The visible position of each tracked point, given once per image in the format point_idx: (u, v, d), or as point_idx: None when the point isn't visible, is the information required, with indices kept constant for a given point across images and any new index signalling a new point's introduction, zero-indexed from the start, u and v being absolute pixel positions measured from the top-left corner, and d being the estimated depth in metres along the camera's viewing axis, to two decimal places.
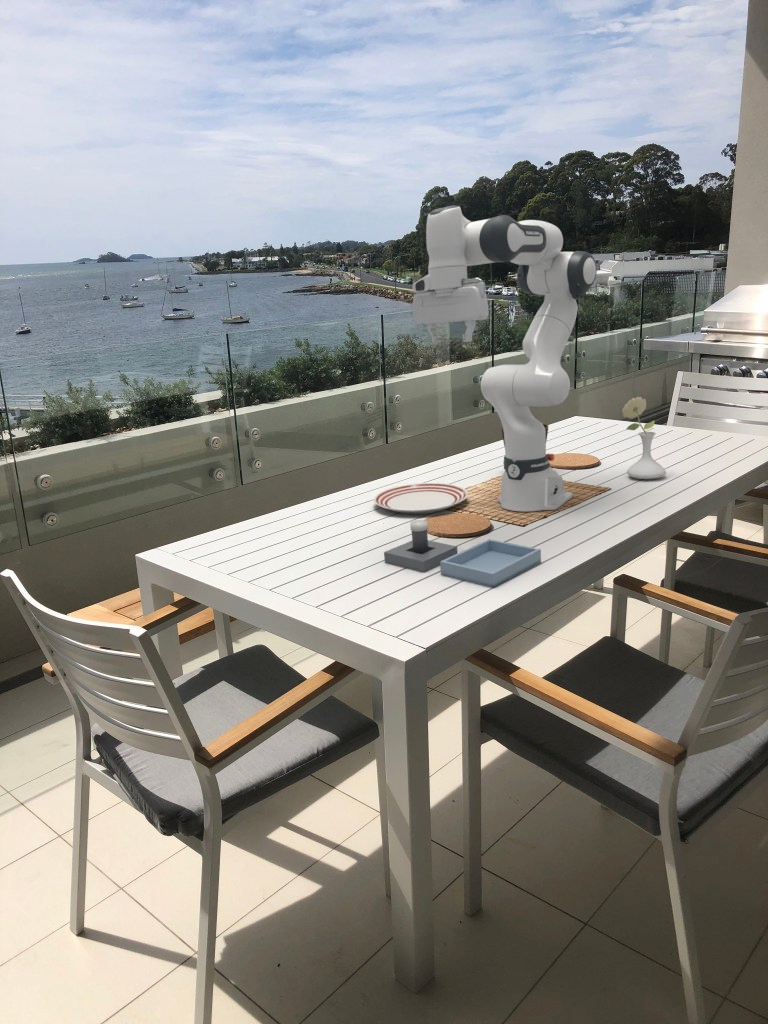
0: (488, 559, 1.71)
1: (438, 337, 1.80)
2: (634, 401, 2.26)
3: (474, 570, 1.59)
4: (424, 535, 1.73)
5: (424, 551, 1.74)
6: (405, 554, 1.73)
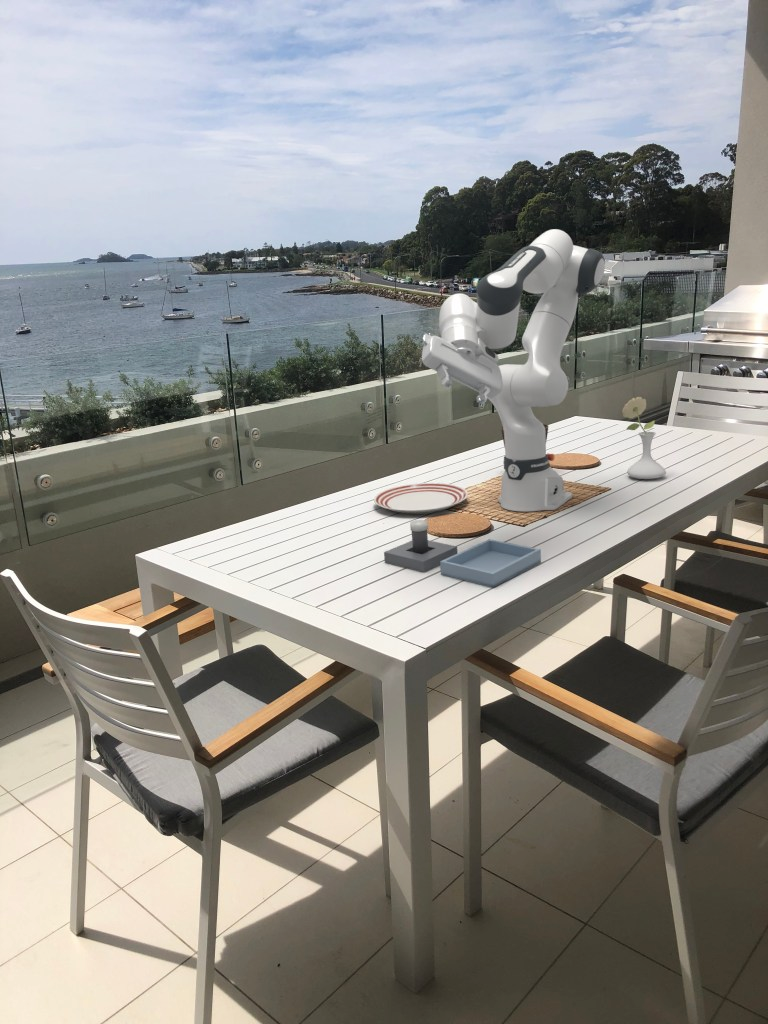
0: (488, 559, 1.71)
1: (479, 396, 1.66)
2: (634, 401, 2.26)
3: (474, 570, 1.59)
4: (424, 535, 1.73)
5: (424, 551, 1.74)
6: (405, 554, 1.73)
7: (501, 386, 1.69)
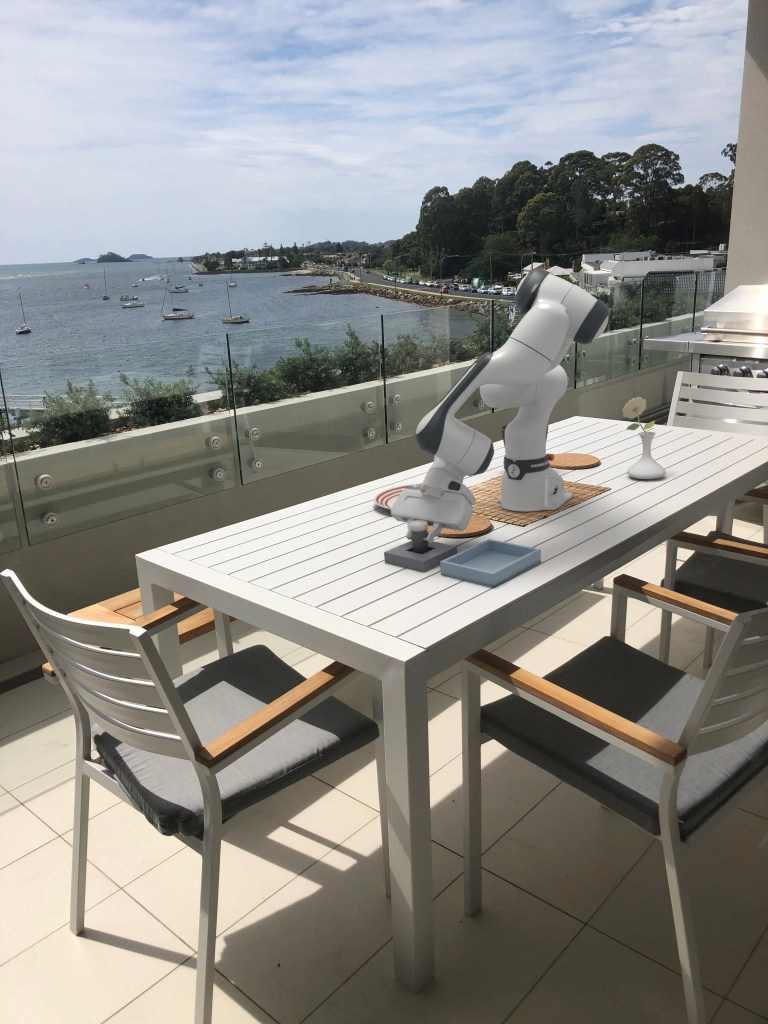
0: (488, 559, 1.71)
1: None
2: (634, 401, 2.26)
3: (474, 570, 1.59)
4: (424, 535, 1.73)
5: (424, 551, 1.74)
6: (405, 554, 1.73)
7: (458, 520, 1.69)
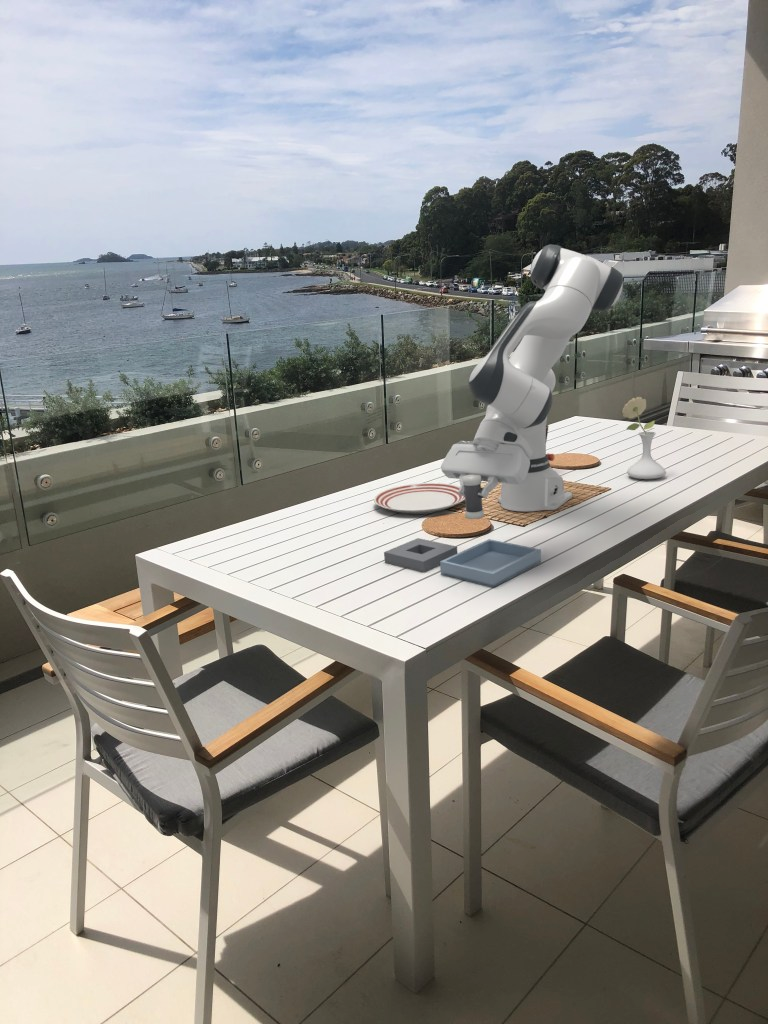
0: (488, 559, 1.71)
1: None
2: (634, 401, 2.26)
3: (474, 570, 1.59)
4: (478, 489, 1.62)
5: (478, 507, 1.63)
6: (405, 554, 1.73)
7: (515, 472, 1.58)
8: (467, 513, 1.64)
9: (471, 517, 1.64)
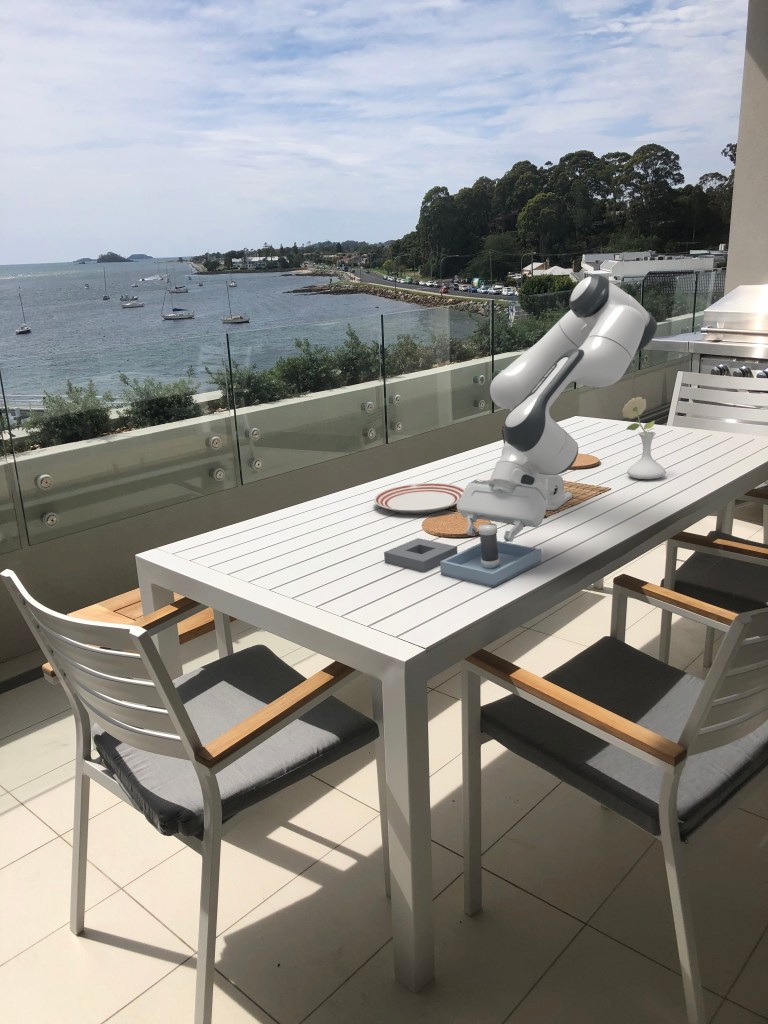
0: None
1: None
2: (634, 401, 2.26)
3: (474, 570, 1.59)
4: (494, 539, 1.64)
5: (494, 556, 1.65)
6: (405, 554, 1.73)
7: (533, 515, 1.60)
8: (483, 562, 1.66)
9: (487, 566, 1.65)
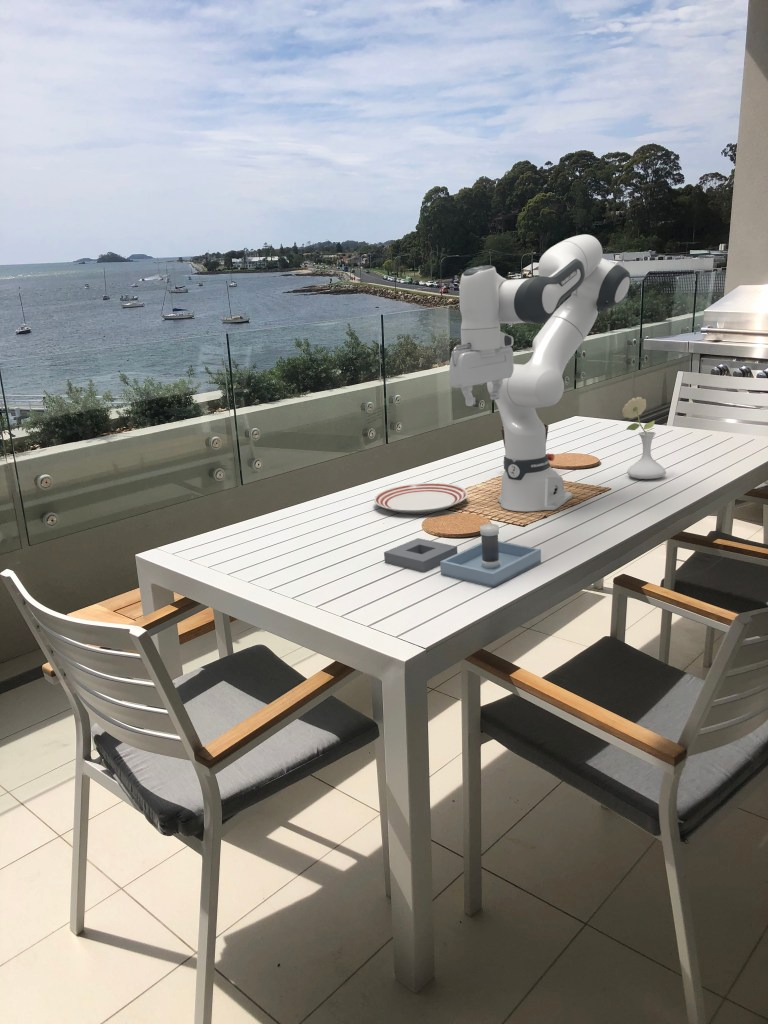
0: None
1: (493, 394, 1.77)
2: (634, 401, 2.26)
3: (474, 570, 1.59)
4: (495, 540, 1.64)
5: (495, 557, 1.65)
6: (405, 554, 1.73)
7: (512, 372, 1.78)
8: (484, 562, 1.66)
9: (488, 566, 1.65)
